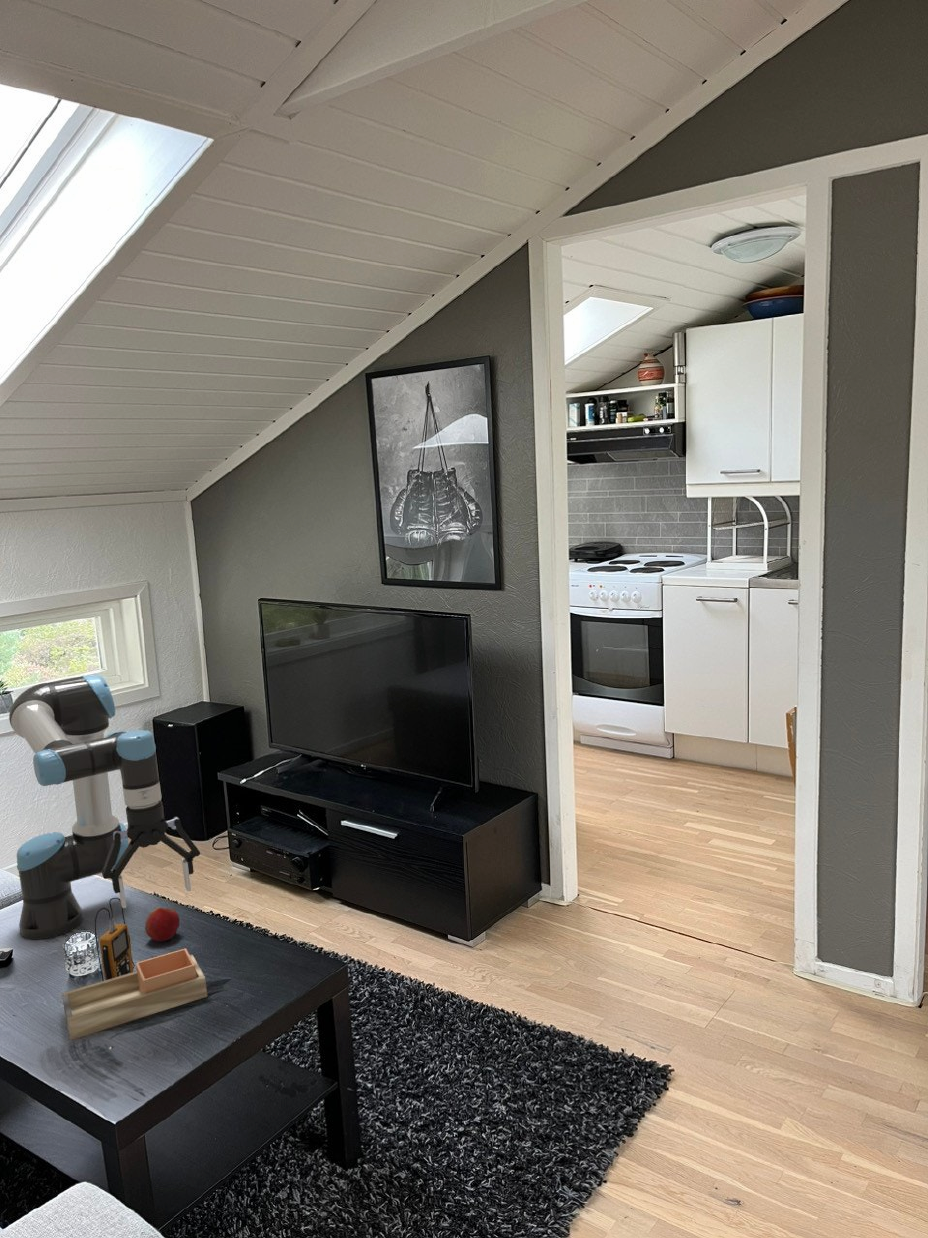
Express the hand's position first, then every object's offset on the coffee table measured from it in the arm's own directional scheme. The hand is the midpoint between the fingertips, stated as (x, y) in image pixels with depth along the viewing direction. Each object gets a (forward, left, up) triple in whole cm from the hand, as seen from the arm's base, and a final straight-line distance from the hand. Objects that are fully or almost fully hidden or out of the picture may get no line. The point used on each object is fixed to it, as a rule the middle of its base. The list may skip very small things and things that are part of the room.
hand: (156, 897), depth 207 cm
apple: (-27, +4, -23) cm, 36 cm away
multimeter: (-10, -6, -23) cm, 26 cm away
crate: (0, 0, -22) cm, 22 cm away
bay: (0, -7, -23) cm, 24 cm away
